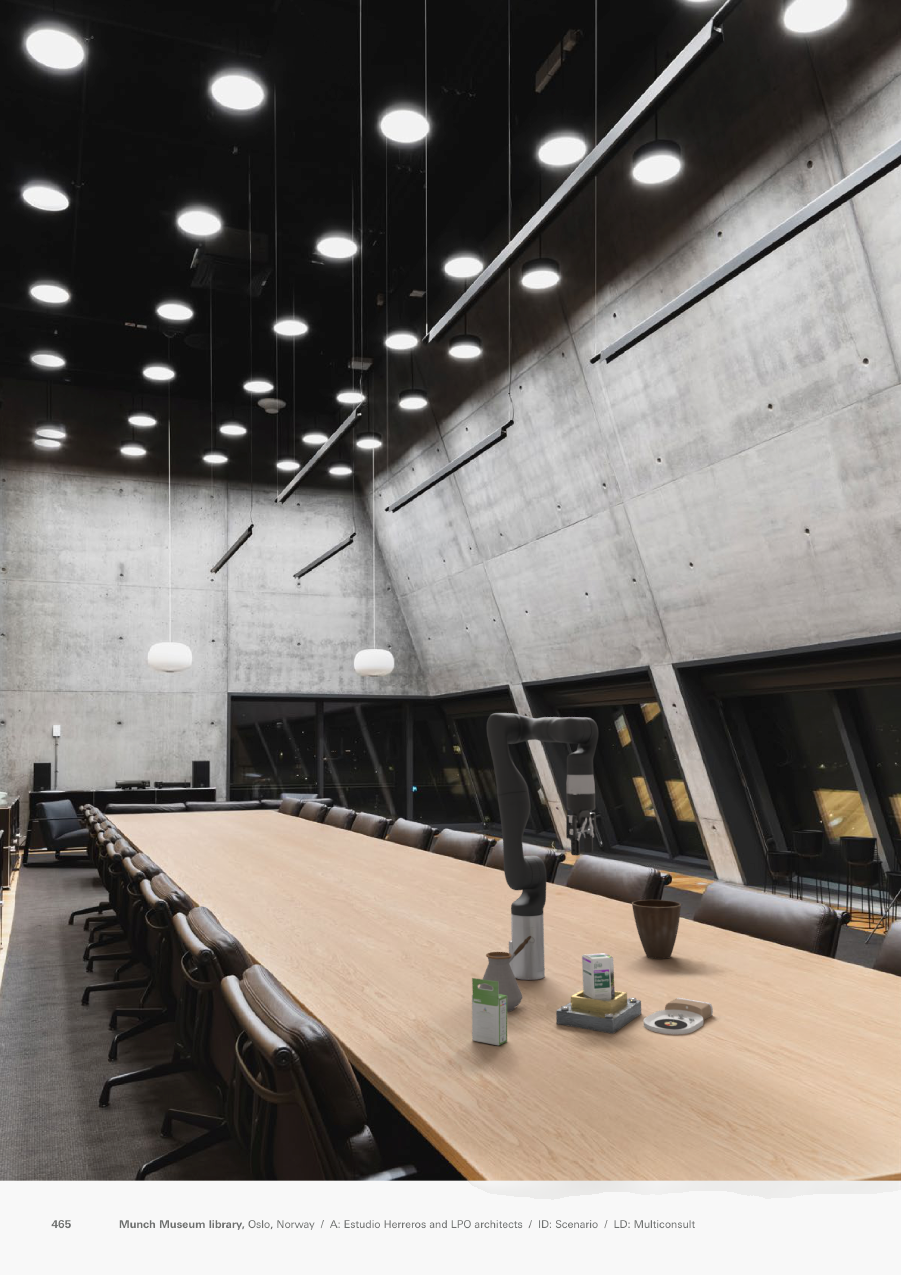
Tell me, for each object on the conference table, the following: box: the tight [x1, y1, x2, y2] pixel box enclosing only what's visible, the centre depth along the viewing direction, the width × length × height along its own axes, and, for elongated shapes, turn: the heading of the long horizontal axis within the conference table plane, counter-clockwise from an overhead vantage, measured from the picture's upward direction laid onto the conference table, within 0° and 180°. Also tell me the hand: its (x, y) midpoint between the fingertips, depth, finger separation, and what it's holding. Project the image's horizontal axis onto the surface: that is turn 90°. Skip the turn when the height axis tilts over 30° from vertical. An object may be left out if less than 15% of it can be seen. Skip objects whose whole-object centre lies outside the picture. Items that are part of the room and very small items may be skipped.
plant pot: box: [631, 899, 682, 960], centre depth 273 cm, size 15×15×16 cm
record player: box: [643, 997, 714, 1035], centre depth 206 cm, size 12×3×20 cm
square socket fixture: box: [555, 989, 642, 1035], centre depth 209 cm, size 14×18×6 cm
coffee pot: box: [478, 936, 535, 1013], centre depth 223 cm, size 21×12×15 cm, turn 143°
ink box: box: [471, 977, 508, 1046], centre depth 193 cm, size 7×4×13 cm, turn 56°
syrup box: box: [581, 952, 616, 1001], centre depth 210 cm, size 6×6×14 cm
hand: (582, 853), depth 233 cm, fingers open, 8 cm apart
